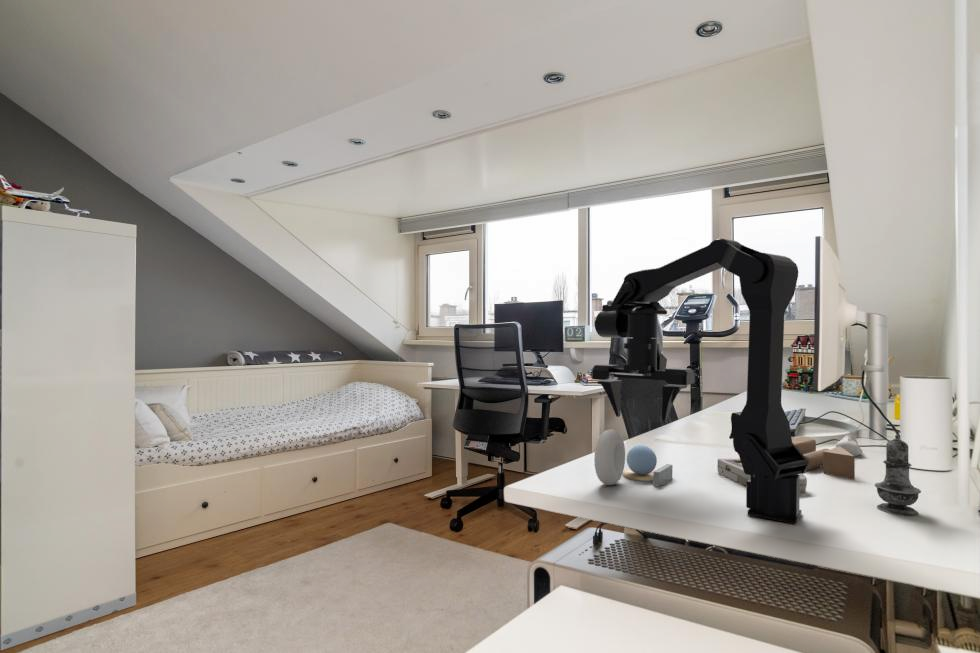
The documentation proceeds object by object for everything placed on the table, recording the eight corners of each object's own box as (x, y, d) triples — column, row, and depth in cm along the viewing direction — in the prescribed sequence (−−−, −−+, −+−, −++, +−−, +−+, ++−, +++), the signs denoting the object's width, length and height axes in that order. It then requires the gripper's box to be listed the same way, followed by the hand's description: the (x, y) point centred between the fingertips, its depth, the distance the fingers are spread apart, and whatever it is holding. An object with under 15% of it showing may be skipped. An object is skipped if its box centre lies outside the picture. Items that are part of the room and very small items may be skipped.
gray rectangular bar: (672, 477, 103) (672, 464, 103) (658, 486, 97) (659, 472, 97) (667, 477, 104) (667, 464, 104) (653, 485, 98) (653, 471, 98)
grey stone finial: (908, 506, 88) (908, 431, 88) (929, 518, 82) (929, 438, 82) (867, 503, 89) (867, 429, 89) (885, 514, 83) (885, 436, 83)
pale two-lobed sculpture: (855, 463, 124) (831, 453, 127) (862, 457, 129) (838, 447, 133) (862, 446, 123) (837, 436, 126) (869, 441, 129) (845, 431, 132)
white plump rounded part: (609, 477, 103) (610, 424, 103) (627, 480, 101) (628, 426, 102) (591, 489, 95) (591, 432, 95) (610, 492, 93) (610, 434, 93)
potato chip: (665, 475, 105) (665, 473, 105) (652, 483, 100) (652, 481, 100) (630, 469, 109) (630, 468, 109) (616, 476, 104) (616, 475, 104)
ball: (650, 480, 101) (650, 449, 101) (621, 474, 104) (622, 445, 104) (660, 474, 105) (661, 445, 105) (632, 469, 108) (633, 441, 108)
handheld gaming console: (762, 475, 93) (716, 456, 108) (762, 496, 93) (716, 474, 108) (811, 475, 94) (759, 456, 109) (811, 495, 94) (759, 473, 109)
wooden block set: (762, 438, 117) (799, 431, 128) (763, 465, 117) (799, 455, 128) (852, 452, 104) (884, 442, 115) (852, 482, 104) (884, 469, 115)
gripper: (703, 339, 106) (702, 419, 106) (613, 337, 117) (612, 410, 117) (686, 339, 97) (685, 426, 97) (590, 337, 108) (589, 415, 108)
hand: (640, 419), depth 105 cm, fingers open, 9 cm apart
